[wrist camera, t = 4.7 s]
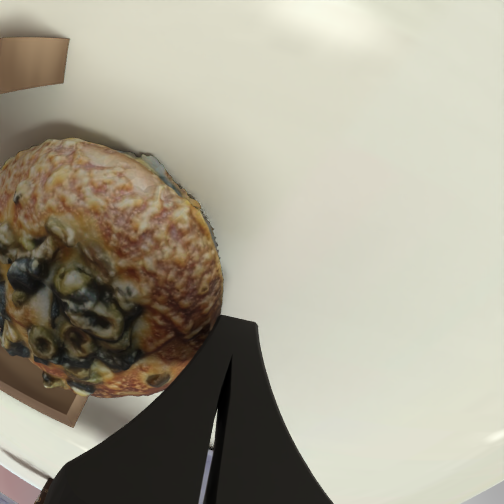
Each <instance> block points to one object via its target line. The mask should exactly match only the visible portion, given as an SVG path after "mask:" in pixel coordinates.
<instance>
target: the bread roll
mask: <svg viewBox="0 0 504 504" xmlns="http://www.w3.org/2000/svg"><path fill="white" fill-rule="evenodd" d="M200 208H201V206H200V204H199V203H198V202H197V201H196V200H194V199H192V198H190V197H189V196H188V195H187V192H186V191H185V189H180V188H179V186H178V184H176V183H175V182H174V181H173V179H172V177H171V176H170V175H169V174H168V173H167V171H166V170H165V168H164V167H163V165H162V164H161V163H159V162H158V160H157V159H156V158H155V157H153V156H152V155H151V156H146V155H144V154H142V156H141V158H140V157H135V154H133V153H131V152H121V151H116V150H113V149H111V148H109V147H107V146H104V145H100V144H95V143H91V142H87V141H84V140H81V139H79V138H67V139H63V140H56V139H53V140H51V139H47V140H46V141H45V142H44V143H42V144H41V145H39V146H32V147H31V148H30V149H28V150H24V151H19V152H18V154H17V155H16V156H15V157H11V158H9V159H8V160H7V161H6V162H5V164H4V166H3V167H2V168H1V170H0V328H1V331H0V341H1V346H2V347H4V348H5V350H6V351H7V352H8V354H9V355H11V356H16V355H17V356H20V357H23V358H25V357H26V358H28V359H29V360H30V361H31V362H32V363H33V364H35V365H37V366H38V367H39V368H40V369H41V370H43V373H42V377H43V385H44V387H46V388H63V389H65V390H71V391H72V392H74V393H75V394H79V395H80V396H83V397H85V396H88V395H92V396H95V397H99V398H116V397H123V396H130V395H133V396H137V397H138V396H142V395H144V396H149V395H152V394H154V393H157V392H160V391H163V390H165V389H166V388H167V387H168V386H169V385H170V384H171V383H172V382H173V381H174V380H175V378H176V377H177V376H178V375H179V374H180V373H181V371H182V370H183V369H184V368H185V367H186V365H187V364H188V363H189V362H190V360H191V359H192V358H193V356H194V355H195V354H196V352H197V351H198V350H199V348H200V347H201V345H202V344H203V342H204V341H205V339H206V338H207V336H208V335H209V333H210V331H211V330H212V328H213V326H214V324H215V322H216V319H217V317H218V316H220V313H221V307H222V297H223V281H224V279H223V277H222V270H221V265H220V257H219V255H218V251H219V250H217V246H218V244H217V242H216V241H215V238H216V237H214V233H213V231H212V230H214V229H213V228H212V227H211V226H210V222H209V221H208V220H207V219H206V217H205V216H203V212H202V211H201V210H199V209H200Z"/></svg>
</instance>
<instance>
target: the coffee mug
mask: <svg viewBox="0 0 504 504" xmlns="http://www.w3.org/2000/svg"><path fill="white" fill-rule="evenodd" d="M53 480H54V479H51V478H49V479H48V481H47V482H46V484H45V486H44V487H43V489H42V491H41V493H40V494H39V496H38V498H37V499H36V501H35V503H34V504H43V503H44V501H45V498H46V495H47V492H48V490H49V487H50V485H51V483H52V481H53Z"/></svg>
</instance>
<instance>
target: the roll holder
mask: <svg viewBox="0 0 504 504" xmlns="http://www.w3.org/2000/svg"><path fill="white" fill-rule="evenodd" d="M68 45H69V39H63V38H41V37H7V38H0V94H3V93H8V92H12V91H17V90H23V89H28V88H34V87H40V86H46V85H53V84H61V83H63V81H64V73H65V65H66V58H67V51H68ZM42 373H43V370H41V369H40V368H39V367H38V366H37V365H35V364H33V363H32V362H31V361H30V360H29V359H28V358H26V357H25V358H23V357H20V356H17V355H16V356H11V355H9V354H8V352H7V351H6V350H5V348H4V347H2V346H1V341H0V390H2V391H3V392H5V393H7V394H8V395H10V396H12V397H13V398H15V399H17V400H19V401H20V402H22V403H24V404H26V405H28V406H30V407H31V408H33V409H35V410H37V411H39V412H41V413H43V414H45V415H47V416H49V417H51V418H53V419H55V420H57V421H59V422H61V423H64V424H66V425H68V426H70V427H72V428H74V426H75V423H76V421H77V419H78V417H79V415H80V413H81V411H82V409H83V407H84V405H85V403H86V401H87V399H88V397H89V395H88V396H85V397H83V396H80V395H79V394H75V393H74V392H72V391H71V390H65V389H63V388H46V387H44V385H43V377H42Z"/></svg>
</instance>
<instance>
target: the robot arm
mask: <svg viewBox="0 0 504 504" xmlns="http://www.w3.org/2000/svg"><path fill="white" fill-rule="evenodd" d="M217 409H218V411H217ZM216 412H217V421H216V431H215V441H214V449H213V450H208V449H209V444H210V438H211V433H212V428H213V423H214V418H215V415H216ZM0 504H18V503H16V502H15V501H13V500H12V499H10V498H9V497H7V496H6V495H4V494H3V493H1V492H0ZM43 504H334V503H333V502H332V501H331V500H330V498H329V497H328V496H327V494H326V493H325V492H324V490H323V489H322V487H321V486H320V485H319V483H318V482H317V480H316V479H315V477H314V476H313V474H312V473H311V471H310V469H309V468H308V466H307V464H306V463H305V461H304V459H303V458H302V456H301V454H300V453H299V451H298V449H297V447H296V445H295V443H294V442H293V440H292V438H291V436H290V434H289V431H288V429H287V427H286V425H285V423H284V421H283V418H282V416H281V413H280V411H279V408H278V406H277V403H276V400H275V398H274V395H273V392H272V389H271V386H270V383H269V379H268V376H267V372H266V369H265V365H264V361H263V357H262V352H261V347H260V342H259V334H258V325H257V324H256V323H255V322H252V321H247V320H243V319H238V318H234V317H229V316H225V315H220V316H218V317H217V319H216V322H215V324H214V326H213V328H212V330H211V331H210V333H209V335H208V336H207V338H206V339H205V341H204V342H203V344H202V345H201V347H200V348H199V350H198V351H197V352H196V354H195V355H194V356H193V358H192V359H191V360H190V362H189V363H188V364H187V365H186V367H185V368H184V369H183V370H182V371H181V373H180V374H179V375H178V376H177V377H176V378H175V380H174V381H173V382H172V383H171V384H170V385H169V386H168V387H167V388H166V389H165V390H164V391H163V392H162V393H161V394H160V395H159V396H158V397H157V398H156V399H155V400H154V401H153V402H152V403H151V404H150V405H149V406H148V407H147V408H145V409H144V410H143V411H142V412H141V413H140V414H139V415H137V416H136V417H135V418H134V419H133V420H131V421H130V422H129V423H128V424H126V425H125V426H124V427H122V428H121V429H120V430H118V431H117V432H115V433H114V434H113V435H111V436H110V437H108V438H107V439H106V440H104V441H103V442H101V443H100V444H98V445H97V446H95V447H94V448H92V449H90V450H89V451H87V452H85V453H83V454H82V455H80V456H78V457H76V458H75V459H73V460H71V461H69V462H68V463H66V464H65V465H64V466H63V467H62V468H61V470H60V471H59V472H58V474H57V475H56V477H55V478H54V480H53V481H52V483H51V485H50V487H49V490H48V492H47V495H46V498H45V501H44V503H43Z"/></svg>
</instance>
